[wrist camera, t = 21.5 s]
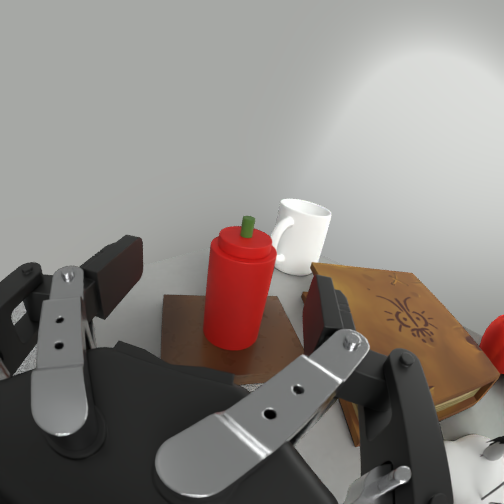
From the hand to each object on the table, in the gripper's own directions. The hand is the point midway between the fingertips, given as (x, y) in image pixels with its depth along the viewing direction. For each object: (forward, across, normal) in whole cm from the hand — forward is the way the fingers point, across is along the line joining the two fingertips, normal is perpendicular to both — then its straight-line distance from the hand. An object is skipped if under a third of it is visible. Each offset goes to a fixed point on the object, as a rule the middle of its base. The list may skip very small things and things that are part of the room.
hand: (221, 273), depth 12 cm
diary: (+12, -20, +14) cm, 27 cm away
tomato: (+10, -40, +14) cm, 44 cm away
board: (+10, 0, +14) cm, 18 cm away
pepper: (+10, 0, +13) cm, 16 cm away
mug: (+30, -6, +14) cm, 33 cm away
